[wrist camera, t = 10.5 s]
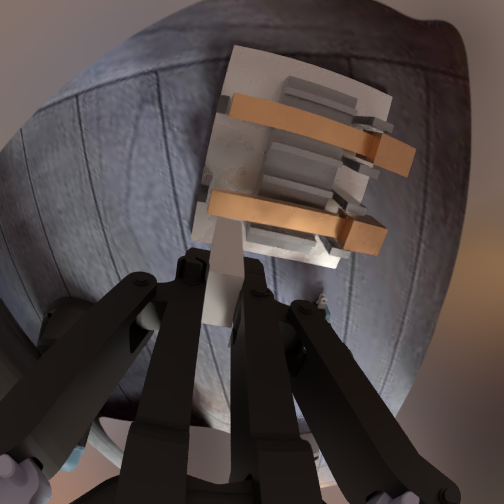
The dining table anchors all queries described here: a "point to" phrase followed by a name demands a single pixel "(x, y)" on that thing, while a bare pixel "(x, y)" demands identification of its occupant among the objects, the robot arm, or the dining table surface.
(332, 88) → the heatsink base
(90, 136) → the dining table surface
